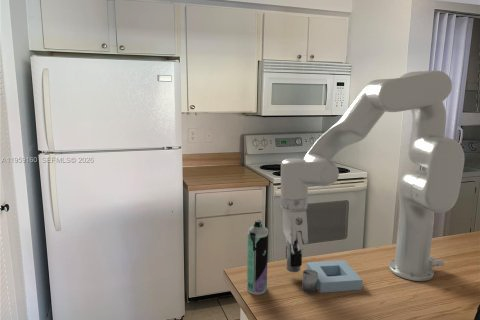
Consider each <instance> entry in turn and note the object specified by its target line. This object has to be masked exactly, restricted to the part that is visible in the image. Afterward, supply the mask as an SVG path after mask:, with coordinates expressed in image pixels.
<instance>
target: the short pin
mask: <svg viewBox="0 0 480 320" xmlns="http://www.w3.org/2000/svg"><path fill="white" fill-rule="evenodd" d="M302 272H303V273H302V286H301V289H302V291H303V292H304V293H307V294H310V295H311V294H316V293H317V291H318V288H317V280H318V273H317V272H316V271H314V270H306V269H304V270H303V271H302Z"/></svg>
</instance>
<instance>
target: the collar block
mask: <svg viewBox="0 0 480 320" xmlns="http://www.w3.org/2000/svg"><path fill="white" fill-rule="evenodd" d="M305 270H314V271H316V272H317V273H318V280H317V291H319V293H321V294H323V293H333V292H334V293H336V292H348V291H349V292H352V291H361V290H363V278H362V277H360V275H359V274H358V273H357V272H356V271H355V269H353V268H352V267H351V265H349V263H348V262H347V261H345V259H341V260H339V259H338V260H326V261H324V260H323V261H311V262H310V261H308V262H306V269H305Z"/></svg>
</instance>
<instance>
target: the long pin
mask: <svg viewBox="0 0 480 320" xmlns="http://www.w3.org/2000/svg"><path fill="white" fill-rule="evenodd" d="M295 242H297V241H294V243H295ZM295 247H297V245H296V246H294V249H295ZM290 253H292V249H291V244H290V242H289V241H288V240H287V259H286V271H288V272H291V273H298V272H300V271H301V266H295V267H291V265H290Z"/></svg>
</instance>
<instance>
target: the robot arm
mask: <svg viewBox="0 0 480 320" xmlns="http://www.w3.org/2000/svg"><path fill="white" fill-rule="evenodd" d="M452 89H453V83H452V80H451V78H450V76H449V75H448V74H447V73H446V72H444V71H441V70H425V71H424V70H422V71H419V70H417V71H411V72H407V73H404V74H403V75H401V76H400V77H397V78H381V79H379V78H378V79H374V80H371V81H369V82H367V83H366V84H365V86H364V87H363V88H362V90H361V91H360V92H359V93H358V94H357V97H356V98H355V99H354V100H353V102H352V103H351V104H350V106H349V107H348V108H347V110H346V111H345V112H344V113H343V115H342V116H341V117H340V119H339V120H338V121H336V123H335V124H333V125H332V126H331V127H330V128H329V129H327V131H325V132H324V133H323V134H322V135H321V136H320V137H319V138H317V139H316V141H315V142H314V143H313V144H312V146H311V147H310V149H309V150H308V151H307V153H306V154H305V156H304V157H303V159H302V158H297V157H295V158H294V157H293V158H285V159H284V160H282V161H281V164H280V209H281V210H282V232H283V235H284V237H285V258H286V260H287V240H288V241H289V242H290V244H291V249H292V253H290V265H291V267H295V266H300V267H301V266H302V263H303V261H302V260H303V251H304V244H305V245H307V244H308V243H309V238H308V237H309V231H308V218H307V217H308V215H307V209H308V196H309V194H308V192H309V191H308V190H309V189H308V188H309V186H314V187H329V186H332V185H334V184H335V183H336V182H337V180H338V179H339V176H340V171H339V168H338V166H337V164H336V163H334V162H333V158H334V157H335V156H336V155H337V154H338V153H339V152H340V151H341V150H342V151H343V149H344V148H347V147H348V146H351V145H354V144H356V143H359V142H361V141H363V140H364V139H365V138H367V136H368V135H369V133H371V132H372V131H371V130H372V129H373V128H374V127H375V125H376V124H377V123H378V122H379V120H380V119H381V118H382V116H383V115H384V114H385V112H386V113H400V112H405V111H411V113H412V122H411V133H410V138H409V144H408V157H409V160H410V161H411V162H412V163H413V164H415V165H417V166H419V167H422V168H424V169H427V171H426V170H422V169H412V170H408V171H407V172H405V173H404V174H403V175H401V177H400V179H399V182H398V197H399V200H398V201H399V214H398V224H397V232H396V233H397V234H396V243H395V245H396V246H395V251H394V252H395V253H394V259H392V260H390V261H389V262H388V269H389V271H390V272H391V273H393V274H395V276H397V277H399V278H403V279H406V280H408V281H409V280H410V281H413V282H414V281H415V282H425V281H430V280H432V279H433V278H434V274H435V273H434V269H433V268H435V267H442V266H444V263H445V262H444V260H443V259H441V258H440V259H434V257H433V256H431V250H432V242H433V234H434V226H435V225H434V224H435V213H437V214H442V213H447V212H448V211H450V210H452V208H453V207H455V204H456V203H457V202H458V201H457V200H458V198H459V194H460V191H461V183H462V177H463V172H464V168H465V167H464V166H465V152H464V150H463V146H462V145H461V144H460V143H459V142H458V141H457V140H455V139H453V138H450V137H446V134H445V133H446V124H447V111H446V108H445V105H444V103H443V102H444V101H445V100H446V99H447V98H448V97H449V96H450V94H451V92H452ZM294 241H297V242H295V243H294ZM296 245H297V247H295V249H294V246H296Z"/></svg>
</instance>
